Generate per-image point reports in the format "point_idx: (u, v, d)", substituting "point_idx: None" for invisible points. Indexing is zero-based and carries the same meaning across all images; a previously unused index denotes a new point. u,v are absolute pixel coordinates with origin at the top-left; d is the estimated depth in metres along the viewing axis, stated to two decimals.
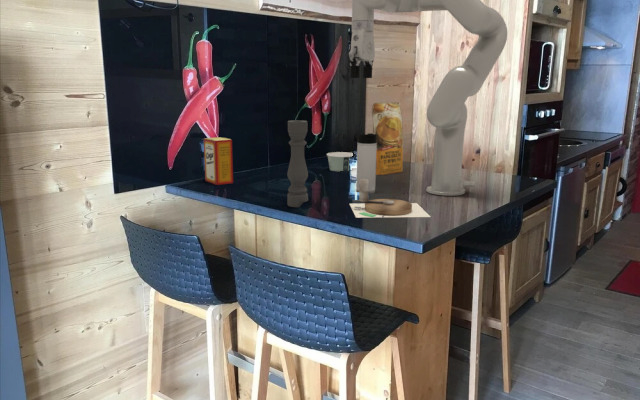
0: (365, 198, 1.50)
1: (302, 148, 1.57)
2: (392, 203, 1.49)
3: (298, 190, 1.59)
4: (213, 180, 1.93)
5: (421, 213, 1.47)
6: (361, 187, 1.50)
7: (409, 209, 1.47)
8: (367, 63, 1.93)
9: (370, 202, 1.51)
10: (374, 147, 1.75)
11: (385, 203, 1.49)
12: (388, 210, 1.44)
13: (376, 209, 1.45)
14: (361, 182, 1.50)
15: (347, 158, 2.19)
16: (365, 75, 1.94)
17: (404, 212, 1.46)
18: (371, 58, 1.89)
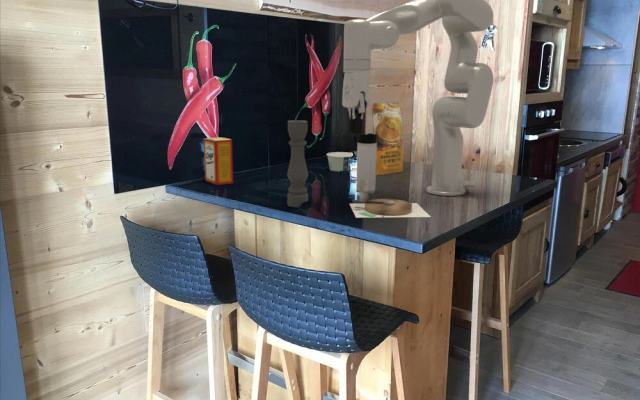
0: (365, 198, 1.50)
1: (302, 148, 1.57)
2: (392, 203, 1.49)
3: (298, 190, 1.59)
4: (213, 180, 1.93)
5: (421, 213, 1.47)
6: (361, 187, 1.50)
7: (409, 209, 1.47)
8: None
9: (370, 202, 1.51)
10: (374, 147, 1.75)
11: (385, 203, 1.49)
12: (388, 210, 1.44)
13: (376, 209, 1.45)
14: (361, 182, 1.50)
15: (347, 158, 2.19)
16: None
17: (404, 212, 1.46)
18: (348, 105, 1.50)
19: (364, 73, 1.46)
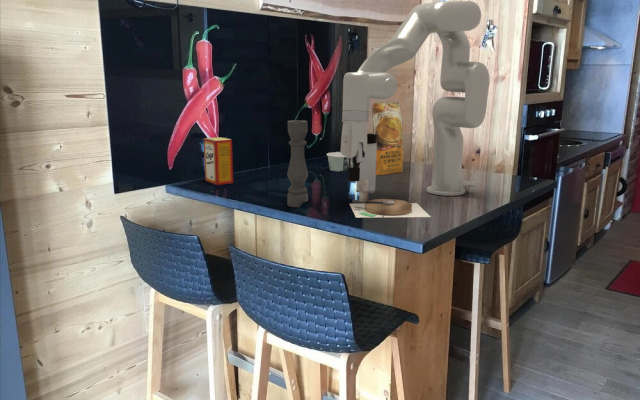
0: (365, 198, 1.50)
1: (302, 148, 1.57)
2: (392, 203, 1.49)
3: (298, 190, 1.59)
4: (213, 180, 1.93)
5: (421, 213, 1.47)
6: (361, 187, 1.50)
7: (409, 209, 1.47)
8: None
9: (370, 202, 1.51)
10: (374, 147, 1.75)
11: (385, 203, 1.49)
12: (388, 210, 1.44)
13: (376, 209, 1.45)
14: (361, 182, 1.50)
15: None
16: None
17: (404, 212, 1.46)
18: (347, 154, 1.53)
19: (362, 124, 1.49)
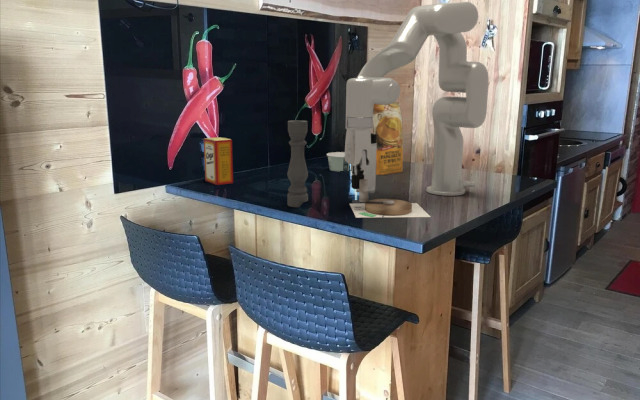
0: (365, 198, 1.50)
1: (302, 148, 1.57)
2: (392, 203, 1.49)
3: (298, 190, 1.59)
4: (213, 180, 1.93)
5: (421, 213, 1.47)
6: (361, 187, 1.50)
7: (409, 209, 1.47)
8: None
9: (370, 202, 1.51)
10: (374, 147, 1.75)
11: (385, 203, 1.49)
12: (389, 210, 1.44)
13: (377, 209, 1.45)
14: (361, 182, 1.49)
15: None
16: None
17: (405, 212, 1.46)
18: (350, 162, 1.50)
19: (366, 131, 1.46)
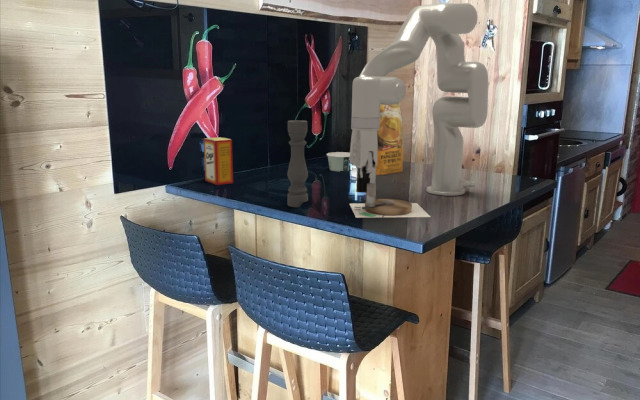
0: (375, 202, 1.45)
1: (302, 148, 1.57)
2: None
3: (298, 190, 1.59)
4: (213, 180, 1.93)
5: (421, 213, 1.47)
6: (372, 192, 1.44)
7: None
8: None
9: (377, 205, 1.47)
10: None
11: (390, 203, 1.49)
12: (407, 208, 1.46)
13: (397, 210, 1.44)
14: (372, 187, 1.44)
15: (347, 158, 2.19)
16: None
17: None
18: (356, 164, 1.44)
19: (373, 132, 1.40)
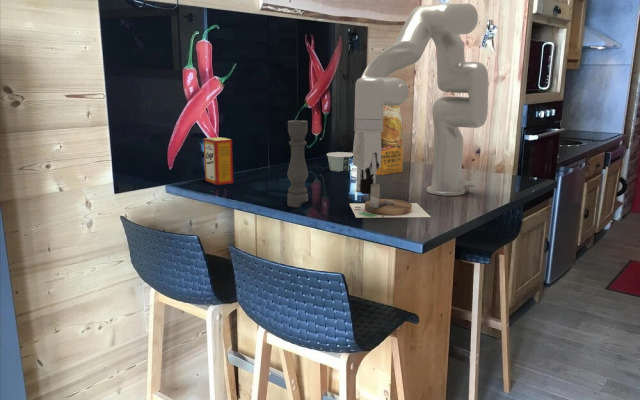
0: (379, 203, 1.45)
1: (302, 148, 1.57)
2: None
3: (298, 190, 1.59)
4: (213, 180, 1.93)
5: (421, 213, 1.47)
6: (377, 192, 1.43)
7: None
8: None
9: (380, 206, 1.46)
10: None
11: (391, 203, 1.49)
12: (409, 208, 1.47)
13: (401, 210, 1.45)
14: (377, 187, 1.43)
15: (347, 158, 2.19)
16: None
17: None
18: (359, 165, 1.43)
19: (376, 134, 1.40)
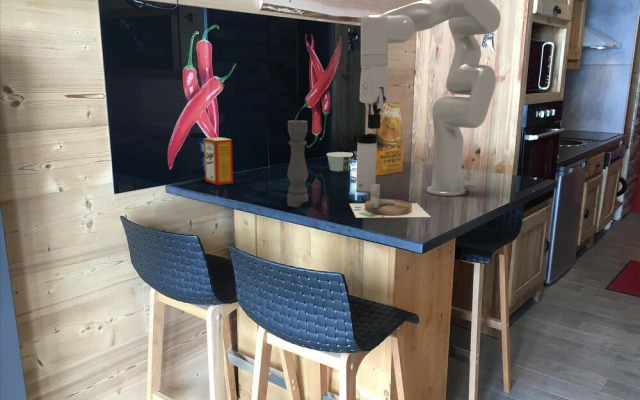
0: (379, 203, 1.45)
1: (302, 148, 1.57)
2: None
3: (298, 190, 1.59)
4: (213, 180, 1.93)
5: (421, 213, 1.47)
6: (377, 192, 1.43)
7: None
8: None
9: (380, 206, 1.46)
10: (374, 147, 1.75)
11: (391, 203, 1.49)
12: (409, 208, 1.47)
13: (401, 210, 1.45)
14: (377, 187, 1.43)
15: (347, 158, 2.19)
16: None
17: None
18: (367, 101, 1.50)
19: (382, 68, 1.46)
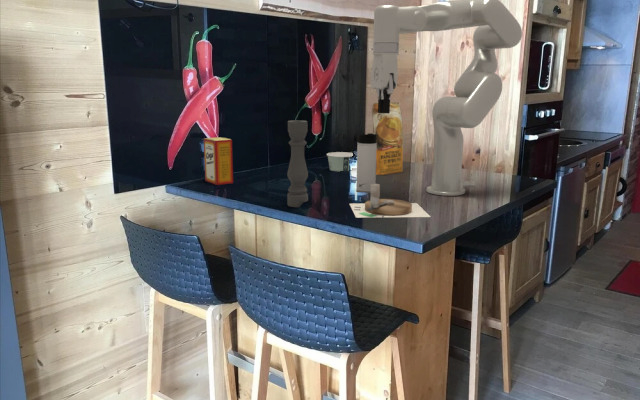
0: (379, 203, 1.45)
1: (302, 148, 1.57)
2: None
3: (298, 190, 1.59)
4: (213, 180, 1.93)
5: (421, 213, 1.47)
6: (377, 192, 1.43)
7: None
8: None
9: (380, 206, 1.46)
10: (374, 147, 1.75)
11: (391, 203, 1.49)
12: (409, 208, 1.47)
13: (401, 210, 1.45)
14: (377, 187, 1.43)
15: (347, 158, 2.19)
16: None
17: None
18: (378, 86, 1.58)
19: (393, 56, 1.55)
